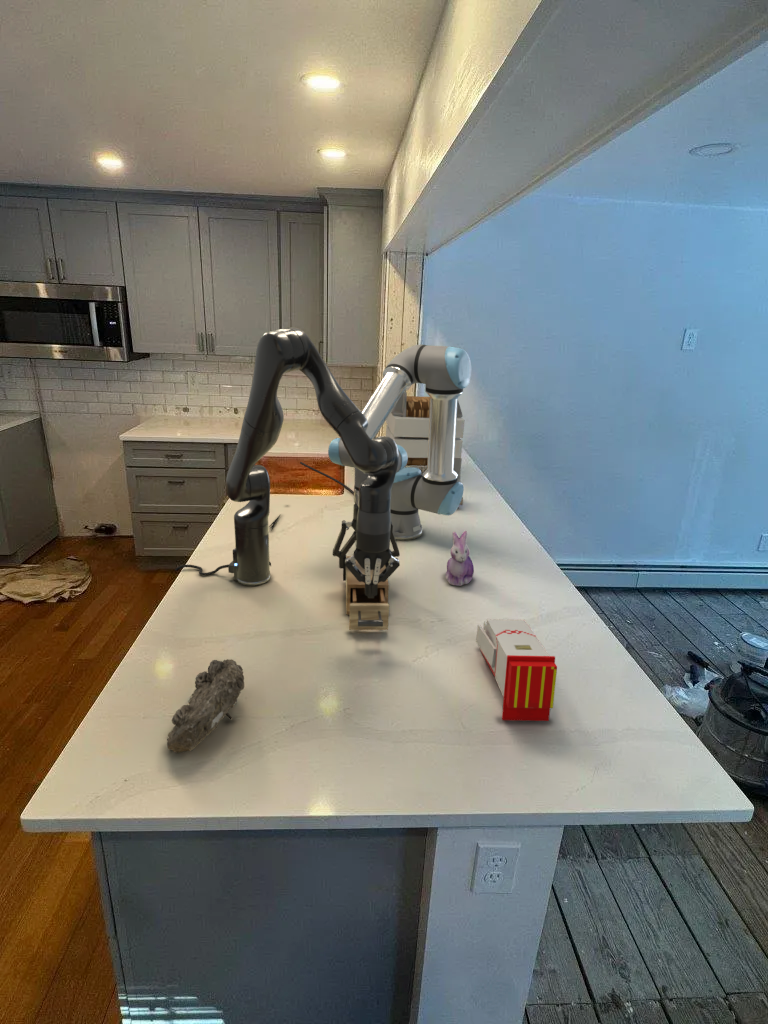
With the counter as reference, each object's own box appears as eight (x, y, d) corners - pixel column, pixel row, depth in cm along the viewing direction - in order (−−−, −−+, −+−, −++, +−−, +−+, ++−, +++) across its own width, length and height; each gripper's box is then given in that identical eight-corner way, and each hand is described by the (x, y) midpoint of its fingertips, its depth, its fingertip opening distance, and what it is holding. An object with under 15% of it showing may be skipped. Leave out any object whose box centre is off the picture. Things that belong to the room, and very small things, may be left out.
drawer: (389, 643, 133) (391, 617, 131) (349, 643, 132) (350, 617, 130) (383, 597, 153) (384, 575, 151) (348, 597, 153) (348, 575, 150)
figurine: (455, 589, 161) (460, 541, 156) (436, 574, 170) (440, 528, 165) (482, 583, 166) (487, 536, 160) (462, 569, 174) (466, 524, 169)
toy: (523, 604, 135) (566, 662, 106) (518, 656, 138) (559, 727, 109) (472, 603, 135) (501, 661, 105) (468, 655, 138) (496, 726, 108)
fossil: (192, 660, 117) (244, 628, 112) (224, 691, 120) (276, 661, 115) (142, 746, 98) (202, 712, 93) (182, 779, 101) (242, 748, 96)
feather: (288, 508, 223) (290, 504, 222) (270, 532, 196) (273, 528, 196) (284, 506, 223) (286, 502, 222) (266, 530, 196) (268, 525, 195)
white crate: (382, 463, 289) (386, 382, 275) (445, 464, 293) (451, 384, 279) (390, 482, 257) (394, 392, 243) (460, 483, 261) (468, 394, 247)
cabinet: (387, 614, 147) (388, 584, 144) (346, 614, 146) (347, 584, 143) (382, 583, 163) (383, 556, 160) (345, 583, 162) (346, 555, 159)
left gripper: (343, 533, 121) (342, 604, 127) (405, 533, 122) (400, 604, 128) (343, 520, 128) (342, 589, 134) (401, 521, 129) (397, 589, 135)
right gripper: (323, 507, 145) (322, 584, 153) (413, 509, 147) (408, 585, 155) (323, 498, 152) (323, 572, 160) (409, 499, 154) (405, 572, 162)
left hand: (370, 596), depth 131 cm, fingers closed
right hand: (365, 578), depth 157 cm, fingers open, 11 cm apart
